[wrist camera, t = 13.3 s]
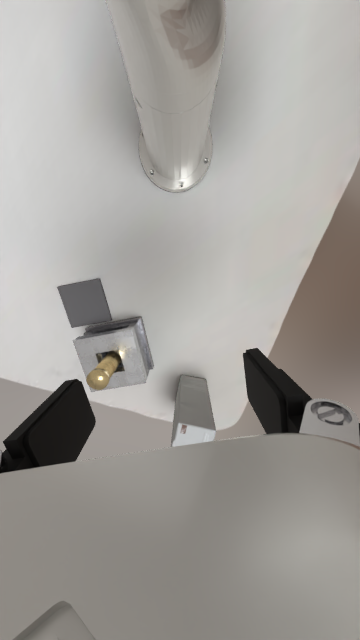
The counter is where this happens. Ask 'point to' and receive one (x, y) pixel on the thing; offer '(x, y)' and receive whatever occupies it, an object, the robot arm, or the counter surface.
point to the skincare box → (192, 413)
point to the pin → (104, 370)
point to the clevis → (117, 337)
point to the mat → (85, 303)
